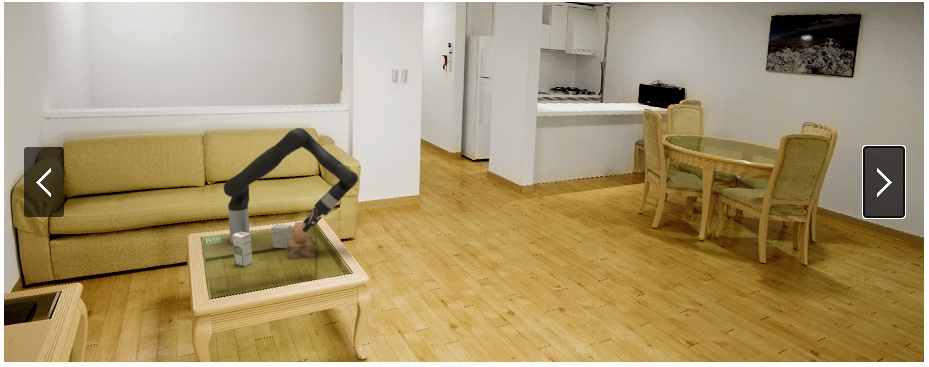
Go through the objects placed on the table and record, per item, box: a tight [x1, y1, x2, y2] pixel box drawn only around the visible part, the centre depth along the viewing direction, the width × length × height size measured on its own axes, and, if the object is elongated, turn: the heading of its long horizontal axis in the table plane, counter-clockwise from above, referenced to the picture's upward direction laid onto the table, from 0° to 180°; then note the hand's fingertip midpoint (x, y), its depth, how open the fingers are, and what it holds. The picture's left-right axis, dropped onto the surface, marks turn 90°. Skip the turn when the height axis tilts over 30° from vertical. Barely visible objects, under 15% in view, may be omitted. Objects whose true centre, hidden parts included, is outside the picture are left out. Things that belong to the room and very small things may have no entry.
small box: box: [271, 223, 293, 249], centre depth 304 cm, size 8×6×10 cm
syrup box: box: [232, 232, 253, 267], centre depth 280 cm, size 6×6×14 cm
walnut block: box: [286, 236, 316, 260], centre depth 295 cm, size 12×12×6 cm
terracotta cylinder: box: [294, 221, 307, 243], centre depth 294 cm, size 5×5×9 cm
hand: (303, 228), depth 293 cm, fingers open, 8 cm apart
